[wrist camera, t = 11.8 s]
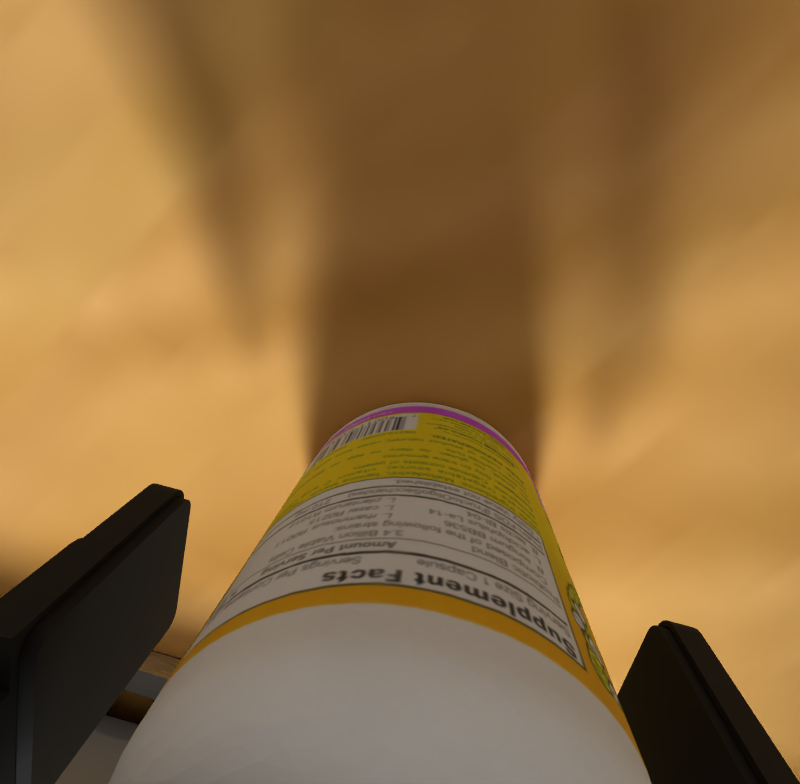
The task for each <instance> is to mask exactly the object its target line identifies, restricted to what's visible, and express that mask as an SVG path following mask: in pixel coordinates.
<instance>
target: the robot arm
mask: <svg viewBox="0 0 800 784" xmlns="http://www.w3.org/2000/svg"><path fill="white" fill-rule="evenodd" d="M190 506H191V504H190V501H189V500H186V499H184V494H183V492H182V491H181V490H178V489H174V488H170V487H167V486H163V485H159V484H151V485H149V486H148V487H147V488H145V489H144V490H143V491H142V492H140V493H139V494H138V495H137V496H135V497H134V498H133V499H132V500H130V501H129V502H128V503H126V504H125V505H124V506H123V507H121V508H120V509H119V510H118V511H116V512H115V513H114V514H113V515H111V516H110V517H109V518H108V519H106V520H105V521H104V522H102V523H101V524H100V525H99V526H97V527H96V528H95V529H94V530H92V531H91V532H90V533H89V534H87V535H86V536H85V537H84V538H80V539H77V540H76V541H74V542H72V543H71V544H69V545H68V546H67V547H66V548H64V549H63V550H62V551H60V552H59V553H58V554H57V555H55V556H54V557H53V558H51V559H50V560H49V561H48V562H46V563H45V564H44V565H43V566H41V567H40V568H39V569H37V570H36V571H35V572H34V573H32V574H31V575H30V576H28V577H27V578H26V579H25V580H23V581H22V582H21V583H19V584H18V585H17V586H16V587H14V588H13V589H12V590H11V591H9V592H8V593H7V594H5V595H4V596H3V597H2V598H0V784H55V783H56V781H57V780H58V778H59V777H60V776H61V774H62V773H63V772H64V770H65V769H66V768H67V766H68V765H69V763H70V762H71V761H72V759H73V758H74V757H75V755H76V754H77V753H78V751H79V750H80V749H81V747H82V746H83V744H84V743H85V742H86V740H87V739H88V738H89V736H90V735H91V734H92V732H93V731H94V729H95V728H96V727H97V725H98V724H99V723H100V721H101V720H102V719H103V717H104V716H105V714H106V713H107V712H108V710H109V709H110V708H111V706H112V705H113V704H114V702H115V701H116V700H117V698H118V697H119V695H120V694H121V693H122V691H123V690H124V689H125V687H126V686H127V685H128V683H129V682H130V680H131V679H132V678H133V676H134V675H135V674H136V672H137V671H138V670H139V668H140V667H141V666H142V664H143V663H144V661H145V660H146V659H147V657H148V656H149V655H150V653H151V652H152V651H153V649H154V648H155V646H156V645H157V644H158V642H159V641H160V640H161V638H162V637H163V636H164V634H165V633H166V631H167V630H168V629H169V627H170V625H171V623H172V621H173V619H174V616H175V613H176V609H177V602H178V595H179V588H180V580H181V573H182V566H183V558H184V551H185V544H186V537H187V529H188V522H189V515H190ZM617 697H618V699H619V702H620V704H621V707H622V709H623V712H624V715H625V717H626V719H627V722H628V724H629V727H630V729H631V732H632V734H633V737H634V739H635V742H636V744H637V747H638V749H639V752H640V754H641V757H642V759H643V761H644V764H645V766H646V769H647V772H648V775H649V778H650V781H651V784H800V783H799V781H798V780H797V778H796V777H795V775H794V774H793V772H792V771H791V769H790V768H789V766H788V765H787V763H786V761H785V760H784V758H783V757H782V755H781V754H780V752H779V751H778V749H777V748H776V746H775V745H774V743H773V742H772V740H771V739H770V737H769V736H768V734H767V733H766V731H765V730H764V728H763V727H762V725H761V724H760V722H759V721H758V719H757V718H756V716H755V714H754V713H753V711H752V710H751V708H750V707H749V705H748V704H747V702H746V701H745V699H744V698H743V696H742V695H741V693H740V692H739V690H738V689H737V687H736V686H735V684H734V683H733V681H732V680H731V678H730V677H729V675H728V674H727V672H726V670H725V669H724V667H723V666H722V664H721V663H720V661H719V660H718V658H717V657H716V655H715V654H714V652H713V651H712V649H711V648H710V646H709V645H708V643H707V642H706V640H705V639H704V637H703V636H702V634H701V633H700V632H699V631H698V630H697V629H695V628H693V627H689V626H686V625H682V624H678V623H674V622H671V621H667V620H666V621H662V622H661V623H659V625H658V626H656V625H655V626H652V627H650V629H649V630H648V632H647V634H646V636H645V638H644V641H643V643H642V645H641V647H640V649H639V651H638V653H637V655H636V657H635V659H634V662H633V664H632V666H631V668H630V670H629V672H628V674H627V676H626V678H625V680H624V683H623V685H622V687H621V689H620V691H619V693H618V695H617Z"/></svg>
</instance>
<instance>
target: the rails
mask: <svg viewBox="0 0 800 784" xmlns="http://www.w3.org/2000/svg"><path fill="white" fill-rule="evenodd" d="M180 661H181V659H177V658H173V657H170V656H166V655H163V654H159V653H156V652H151V653H150V655H149V656H148V657H147V659H146V660H145V661H144V663H143V664H142V666H141V667H140V668H139V670H138V671H137V672H136V674H135V675H134V676H133V678H132V679H131V680H130V682H129V683H128V685H127V686H126V687H125V689H124V691H128V692H131V693H135V694H138V695H142V696H145V697H149V698H152V699H156V698H157V696H158V694H159V693H160V691H161V690H162V688H163V687H164V685H165V683H166V682H167V680H168V679H169V677H170V675H171V674H172V672H173V671H174V669H175V668H176V666H177V665H178V664H179V662H180Z"/></svg>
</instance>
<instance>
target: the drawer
mask: <svg viewBox="0 0 800 784" xmlns="http://www.w3.org/2000/svg"><path fill="white" fill-rule="evenodd" d="M138 726H139V724H135V723H132V722H128V721H125V720H121V719H118V718H114V717H111V716H107V715H105V716H104V717H103V719H102V720H101V721H100V723H99V724H98V725H97V727H96V728H95V729H94V731H93V732H92V734H91V735H90V736H89V738H88V739H87V740H86V742H85V743H84V744H83V746H82V747H81V749H80V750H79V751H78V753H77V754H76V755H75V757H74V758H73V759H72V761H71V762H70V763H69V765H68V766H67V768H66V769H65V770H64V772H63V773H62V774H61V776H60V777H59V778H58V780H57V781H56V783H55V784H109V781H110V779H111V777H112V775H113V772H114V770H115V768H116V766H117V763H118V761H119V759H120V756H121V754H122V753H123V751H124V749H125V748H126V746H127V744H128V742H129V741H130V739H131V737H132V736H133V734H134V732H135V730H136V729H137V727H138Z"/></svg>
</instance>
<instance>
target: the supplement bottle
mask: <svg viewBox="0 0 800 784" xmlns="http://www.w3.org/2000/svg"><path fill="white" fill-rule="evenodd" d="M109 784H651V781H650V778H649V775H648V772H647V769H646V766H645V764H644V761H643V759H642V757H641V754H640V752H639V749H638V747H637V744H636V742H635V739H634V737H633V734H632V732H631V729H630V727H629V724H628V722H627V719H626V717H625V715H624V712H623V709H622V707H621V704H620V702H619V699H618V697H617V694H616V692H615V689H614V687H613V684H612V682H611V679H610V676H609V674H608V671H607V669H606V666H605V663H604V661H603V658H602V656H601V653H600V651H599V649H598V646H597V644H596V641H595V638H594V636H593V633H592V631H591V628H590V625H589V623H588V620H587V618H586V615H585V612H584V610H583V607H582V604H581V602H580V599H579V597H578V594H577V592H576V589H575V587H574V584H573V582H572V579H571V577H570V574H569V572H568V569H567V567H566V564H565V561H564V559H563V556H562V554H561V550H560V548H559V545H558V543H557V540H556V537H555V535H554V532H553V530H552V527H551V524H550V522H549V519H548V516H547V514H546V512H545V509H544V506H543V504H542V501H541V498H540V496H539V494H538V491H537V489H536V486H535V484H534V482H533V479H532V477H531V475H530V473H529V471H528V468H527V467H526V465H525V463H524V461H523V460H522V458H521V457H520V455H519V454H518V452H517V451H516V450H515V448H514V447H513V446H512V445H511V443H510V442H509V441H508V440H507V439H506V438H505V437H504V436H502V435H501V434H500V433H499V432H498V431H497V430H496V429H494V428H493V427H491V426H490V425H489V424H487V423H486V422H484V421H483V420H481V419H479V418H477V417H476V416H474V415H472V414H470V413H467V412H464V411H462V410H459V409H455V408H452V407H448V406H444V405H439V404H433V403H422V402H412V403H399V404H392V405H388V406H384V407H381V408H378V409H374V410H372V411H369V412H367V413H365V414H363V415H361V416H359V417H357V418H356V419H354V420H352V421H351V422H349V423H348V424H346V425H345V426H343V427H342V428H341V429H340V430H338V431H337V432H336V433H335V434H334V435H333V436H332V437H331V438H330V439H329V440H328V441H327V442H326V443H325V445H324V446H323V447H322V449H321V450H320V451H319V453H318V454H317V455H316V456H315V458H314V459H313V461H312V462H311V464H310V465H309V467H308V468H307V470H306V471H305V473H304V474H303V476H302V477H301V479H300V480H299V482H298V483H297V485H296V487H295V488H294V490H293V491H292V493H291V494H290V496H289V497H288V499H287V500H286V502H285V503H284V505H283V507H282V508H281V510H280V511H279V513H278V514H277V516H276V517H275V519H274V520H273V522H272V523H271V525H270V526H269V528H268V529H267V531H266V532H265V534H264V536H263V537H262V539H261V540H260V542H259V543H258V545H257V546H256V548H255V549H254V551H253V552H252V554H251V555H250V557H249V558H248V560H247V562H246V563H245V565H244V566H243V568H242V569H241V571H240V572H239V574H238V575H237V577H236V578H235V580H234V581H233V583H232V584H231V586H230V587H229V589H228V590H227V592H226V593H225V595H224V596H223V598H222V599H221V601H220V602H219V604H218V605H217V607H216V608H215V610H214V611H213V613H212V614H211V616H210V617H209V619H208V620H207V622H206V624H205V625H204V627H203V628H202V630H201V631H200V633H199V634H198V636H197V637H196V639H195V640H194V641H193V643H192V644H191V646H190V647H189V649H188V650H187V652H186V653H185V655H184V656H183V658H182V659H181V661H180V662H179V664H178V665H177V666H176V668H175V669H174V671H173V672H172V674H171V675H170V677H169V679H168V680H167V682H166V683H165V685H164V687H163V688H162V690H161V691H160V693H159V694H158V696H157V698H156V699H155V701H154V702H153V704H152V706H151V707H150V709H149V710H148V712H147V714H146V715H145V717H144V718H143V720H142V721H141V723H140V724H139V726H138V727H137V729H136V730H135V732H134V734H133V736H132V737H131V739H130V741H129V742H128V744H127V746H126V748H125V749H124V751H123V753H122V754H121V756H120V759H119V761H118V763H117V766H116V768H115V770H114V772H113V775H112V777H111V779H110V781H109Z"/></svg>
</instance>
